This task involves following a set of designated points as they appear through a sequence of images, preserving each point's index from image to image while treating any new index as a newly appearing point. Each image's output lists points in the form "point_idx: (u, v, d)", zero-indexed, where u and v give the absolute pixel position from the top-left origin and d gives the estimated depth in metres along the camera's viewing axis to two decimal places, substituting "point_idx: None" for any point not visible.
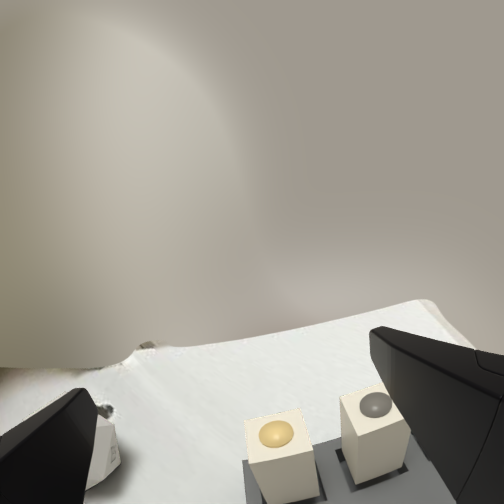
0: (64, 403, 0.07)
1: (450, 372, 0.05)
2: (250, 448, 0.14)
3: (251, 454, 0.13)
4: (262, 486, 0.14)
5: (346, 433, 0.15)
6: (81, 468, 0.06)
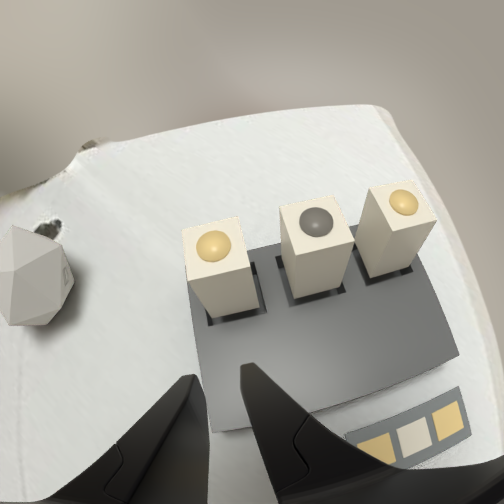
0: (184, 392, 0.07)
1: (261, 437, 0.05)
2: (188, 262, 0.16)
3: (189, 269, 0.16)
4: (203, 300, 0.18)
5: (285, 245, 0.19)
6: (203, 466, 0.06)
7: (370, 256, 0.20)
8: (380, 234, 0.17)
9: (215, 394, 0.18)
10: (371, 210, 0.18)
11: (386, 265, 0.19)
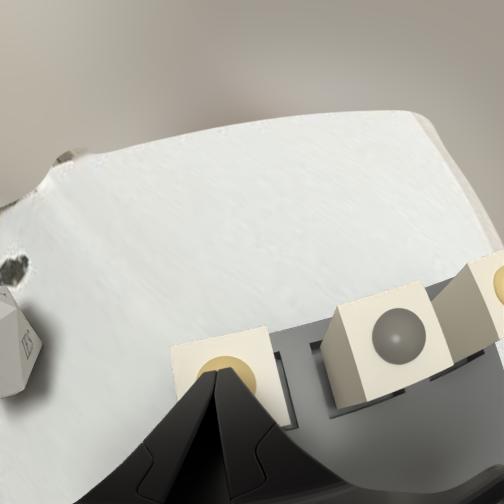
0: (208, 388, 0.07)
1: (226, 443, 0.05)
2: None
3: None
4: None
5: (337, 354, 0.11)
6: None
7: None
8: (474, 332, 0.10)
9: None
10: (463, 295, 0.10)
11: None
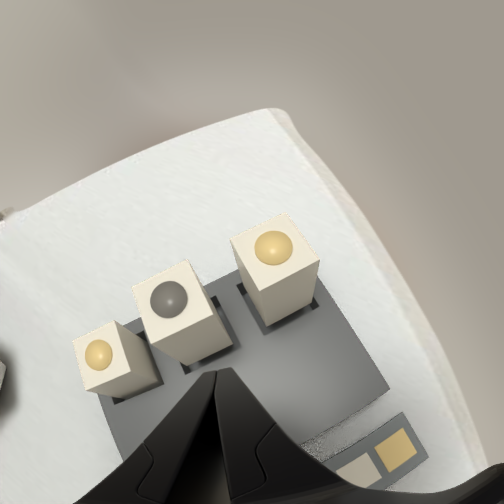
0: (208, 388, 0.07)
1: (226, 443, 0.05)
2: (83, 373, 0.15)
3: (85, 379, 0.15)
4: (111, 395, 0.17)
5: None
6: None
7: (258, 307, 0.18)
8: (254, 289, 0.16)
9: None
10: (239, 262, 0.16)
11: (278, 312, 0.18)
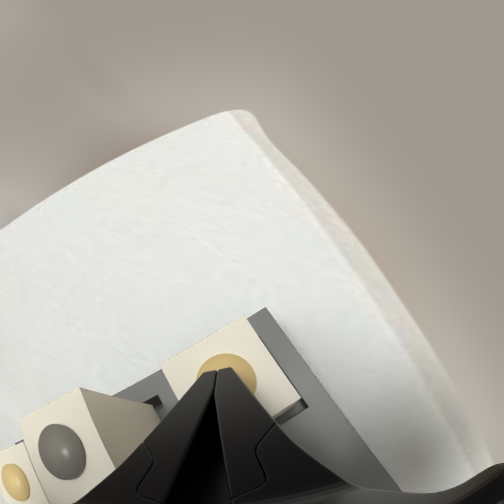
0: (208, 388, 0.07)
1: (226, 443, 0.05)
2: (6, 498, 0.07)
3: None
4: None
5: None
6: None
7: None
8: None
9: None
10: None
11: None
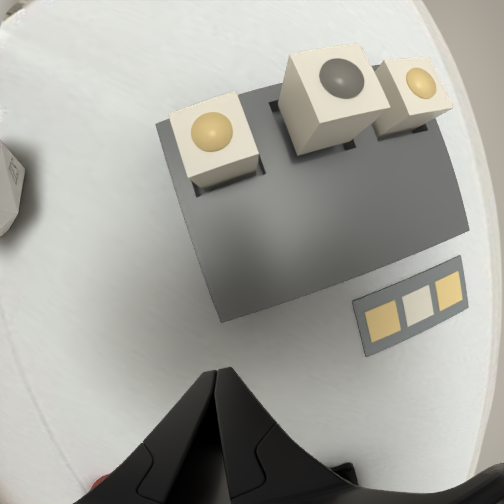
0: (208, 388, 0.07)
1: (226, 443, 0.05)
2: (185, 155, 0.13)
3: (188, 163, 0.13)
4: (201, 184, 0.16)
5: (293, 98, 0.13)
6: None
7: (373, 123, 0.17)
8: (392, 110, 0.14)
9: (217, 278, 0.17)
10: (383, 82, 0.14)
11: (389, 133, 0.17)
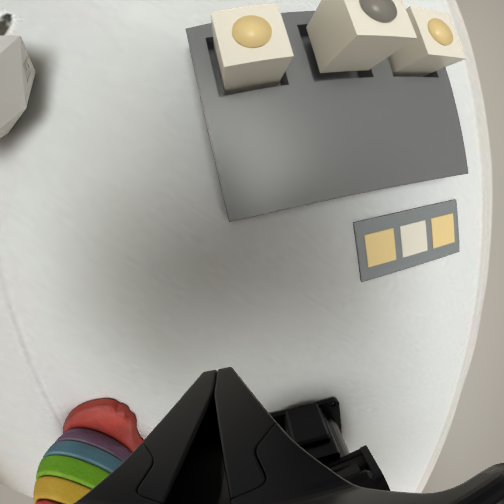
0: (208, 388, 0.07)
1: (226, 443, 0.05)
2: (223, 47, 0.12)
3: (225, 55, 0.12)
4: (227, 83, 0.15)
5: (328, 18, 0.12)
6: None
7: (390, 61, 0.16)
8: (411, 49, 0.14)
9: (231, 176, 0.17)
10: None
11: (403, 73, 0.16)
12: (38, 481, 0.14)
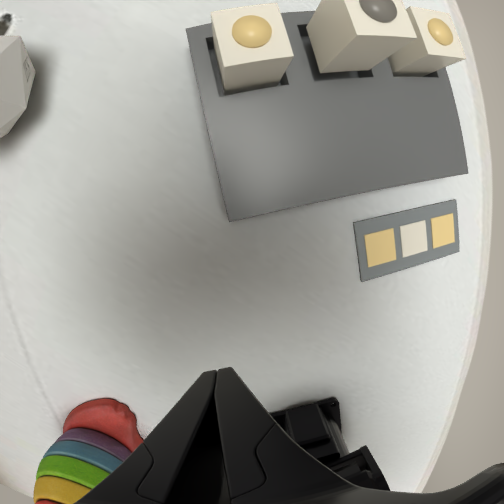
0: (208, 388, 0.07)
1: (226, 443, 0.05)
2: (223, 47, 0.12)
3: (225, 55, 0.12)
4: (227, 83, 0.15)
5: (328, 18, 0.12)
6: None
7: (390, 61, 0.16)
8: (411, 49, 0.14)
9: (231, 176, 0.17)
10: None
11: (403, 73, 0.16)
12: (38, 481, 0.14)
